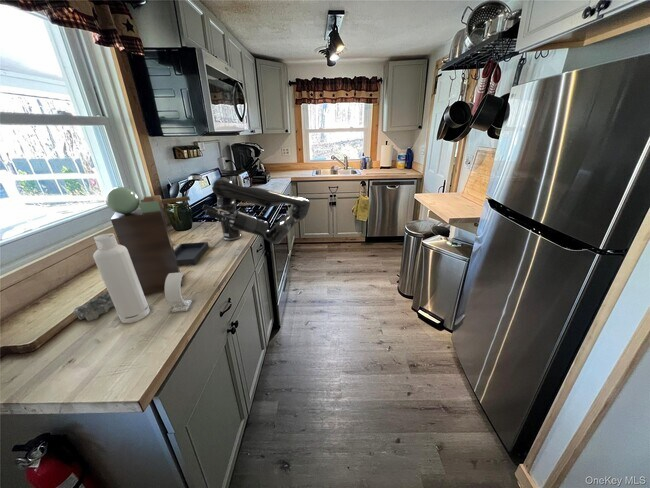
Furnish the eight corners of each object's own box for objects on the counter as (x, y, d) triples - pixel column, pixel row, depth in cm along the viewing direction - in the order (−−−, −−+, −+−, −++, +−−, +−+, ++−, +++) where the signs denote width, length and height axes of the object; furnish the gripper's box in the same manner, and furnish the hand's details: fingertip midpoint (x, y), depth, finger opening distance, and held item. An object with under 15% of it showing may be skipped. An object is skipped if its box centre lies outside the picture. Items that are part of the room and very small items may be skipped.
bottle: (155, 309, 88) (127, 232, 76) (132, 325, 81) (98, 243, 69) (138, 305, 90) (109, 230, 79) (114, 320, 83) (78, 240, 72)
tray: (182, 249, 134) (180, 243, 133) (209, 247, 135) (207, 241, 134) (164, 267, 116) (162, 260, 115) (195, 264, 117) (193, 258, 116)
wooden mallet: (147, 207, 93) (143, 195, 91) (190, 202, 100) (187, 190, 97) (147, 212, 90) (143, 199, 87) (191, 206, 96) (188, 194, 94)
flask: (113, 212, 90) (103, 186, 86) (161, 206, 97) (153, 181, 93) (108, 219, 83) (98, 191, 79) (160, 211, 89) (153, 185, 86)
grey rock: (91, 322, 82) (85, 312, 81) (74, 319, 84) (68, 308, 83) (122, 302, 92) (118, 293, 90) (107, 299, 94) (103, 290, 92)
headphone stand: (191, 301, 91) (183, 272, 86) (185, 312, 86) (175, 281, 81) (178, 302, 91) (169, 273, 86) (170, 313, 85) (160, 282, 80)
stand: (141, 284, 103) (115, 212, 91) (181, 275, 109) (161, 205, 97) (140, 297, 95) (110, 219, 83) (182, 285, 101) (160, 212, 89)
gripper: (245, 235, 105) (203, 222, 95) (236, 225, 116) (199, 213, 106) (251, 218, 104) (210, 204, 94) (243, 210, 115) (205, 196, 106)
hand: (204, 209), depth 100 cm, fingers open, 8 cm apart
